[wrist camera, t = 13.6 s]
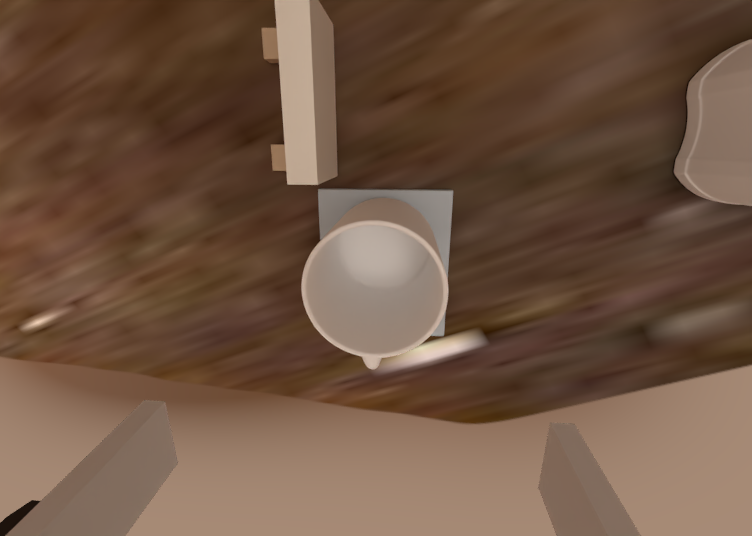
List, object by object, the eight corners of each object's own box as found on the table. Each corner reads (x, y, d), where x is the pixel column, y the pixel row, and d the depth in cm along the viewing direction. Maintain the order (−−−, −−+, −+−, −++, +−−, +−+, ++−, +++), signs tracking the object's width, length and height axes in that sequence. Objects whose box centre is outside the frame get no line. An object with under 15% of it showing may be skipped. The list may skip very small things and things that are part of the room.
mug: (331, 323, 35) (300, 397, 24) (335, 192, 31) (300, 214, 21) (425, 332, 34) (433, 411, 24) (440, 199, 30) (458, 226, 20)
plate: (320, 188, 32) (317, 189, 31) (451, 189, 31) (453, 190, 30) (326, 326, 36) (324, 331, 35) (442, 331, 35) (443, 336, 34)
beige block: (268, 26, 28) (221, -14, 21) (333, 24, 28) (308, -17, 21) (279, 175, 32) (242, 184, 25) (337, 176, 31) (317, 184, 24)
